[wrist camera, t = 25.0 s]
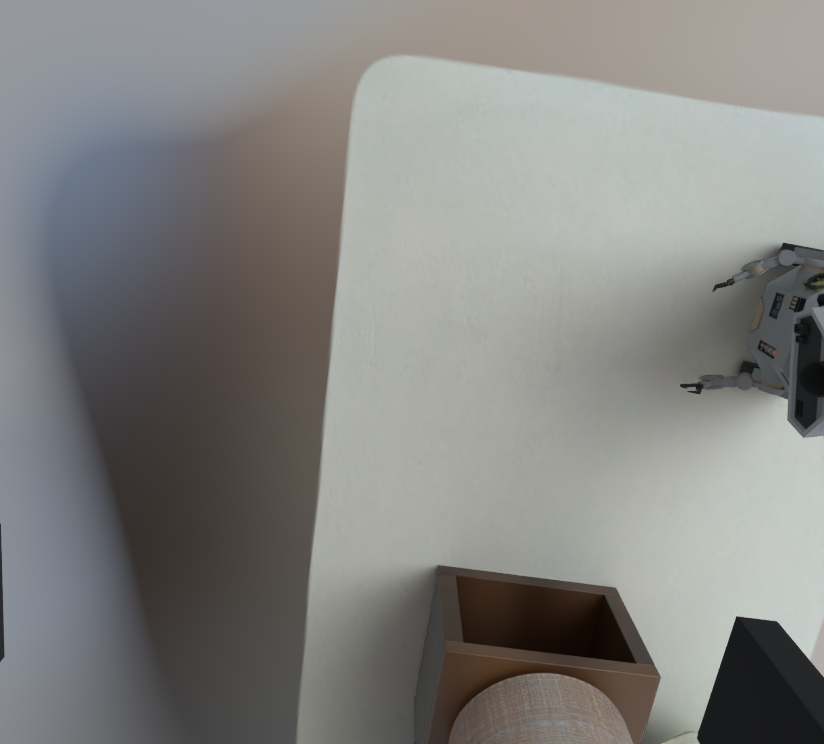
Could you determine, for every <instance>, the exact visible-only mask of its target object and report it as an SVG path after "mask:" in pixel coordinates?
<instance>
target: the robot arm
mask: <svg viewBox="0 0 824 744" xmlns="http://www.w3.org/2000/svg"><path fill="white" fill-rule="evenodd" d="M1 555H2V552H1V524H0V661H1V660H2V659H3V658H4V629H3V628H4V626H3V590H2V556H1ZM697 740H698V742H699V744H824V677H823V676H822V675H821V674H820V672H819V671H818V670H817V669H816V668H815V666H814V665H813V664H812V663H811V662H810V660H809V659H808V658H807V657H806V656H805V654H804V653H803V652H802V651H801V650H800V648H799V647H798V646H797V645H796V644H795V642H794V641H793V640H792V639H791V638H790V636H789V635H788V634H787V633H786V632H785V630H784V629H783V628H782V627H781V626H780V624H779V623H778V622H777V621H769V620H761V619H753V618H745V617H737V616H736V619H735V623H734V626H733V629H732V632H731V635H730V638H729V641H728V644H727V647H726V650H725V653H724V656H723V659H722V662H721V665H720V668H719V671H718V674H717V677H716V680H715V683H714V687H713V690H712V693H711V696H710V699H709V702H708V705H707V708H706V711H705V714H704V717H703V720H702V723H701V726H700V729H699V732H698V735H697Z"/></svg>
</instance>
